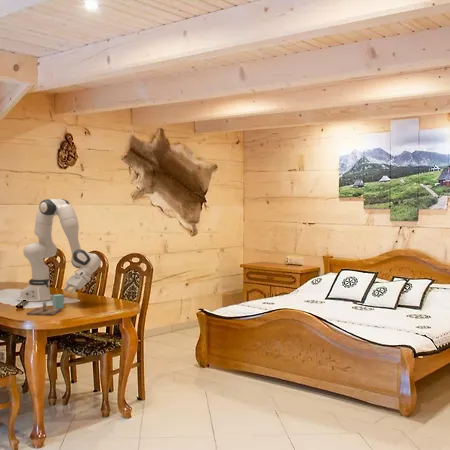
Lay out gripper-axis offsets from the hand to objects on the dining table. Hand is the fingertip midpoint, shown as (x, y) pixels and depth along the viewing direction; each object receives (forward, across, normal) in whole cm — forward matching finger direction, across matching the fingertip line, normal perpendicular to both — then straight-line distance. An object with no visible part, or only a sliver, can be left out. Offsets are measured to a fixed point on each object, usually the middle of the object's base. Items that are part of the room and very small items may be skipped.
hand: (67, 291), depth 386 cm
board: (+20, +12, -6) cm, 24 cm away
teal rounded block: (+11, 0, +3) cm, 11 cm away
